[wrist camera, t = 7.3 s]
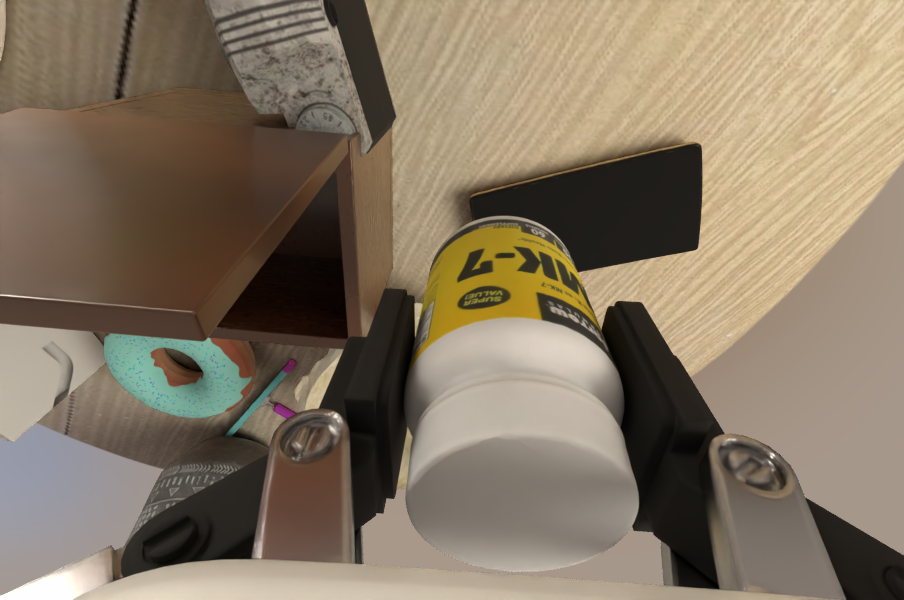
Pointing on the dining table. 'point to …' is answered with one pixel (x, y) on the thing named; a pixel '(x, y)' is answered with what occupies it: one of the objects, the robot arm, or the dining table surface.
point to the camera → (308, 63)
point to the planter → (198, 472)
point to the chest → (301, 234)
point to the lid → (145, 217)
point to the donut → (182, 373)
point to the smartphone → (612, 206)
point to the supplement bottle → (514, 407)
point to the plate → (2, 25)
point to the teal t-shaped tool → (265, 400)
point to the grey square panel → (41, 372)
